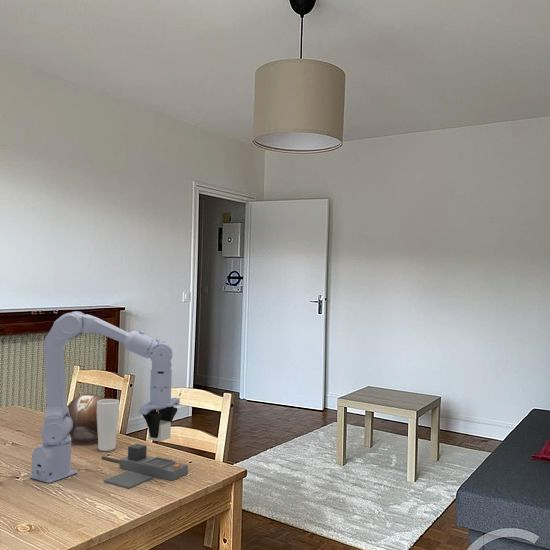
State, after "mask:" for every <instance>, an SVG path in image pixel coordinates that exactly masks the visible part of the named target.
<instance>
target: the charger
mask: <svg viewBox="0 0 550 550" xmlns="http://www.w3.org/2000/svg"><path fill="white" fill-rule="evenodd" d="M171 427H172V423H171V422H169V421H163V420H160V424H159V433H158V438H152V437H150V433H149V430H148V431H147V432H148V434H147V435H148V437H147V438H148V440H151V441H156V442H160V443H161V442H164V441H167V440H169V439H171V435H172V434H171V433H172V432H171V431H172V430H171V429H172V428H171Z"/></svg>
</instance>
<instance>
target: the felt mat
mask: <svg viewBox="0 0 550 550" xmlns="http://www.w3.org/2000/svg"><path fill="white" fill-rule="evenodd" d="M153 479H154V476H150V475H146V474H142V473H138V472H134V471H130V470H126V471H124V472H121V473H119V474H116V475H114V476H111V477H108V478H105V479H103V483H106V484H110V485H114V486H118V487H121V488H125V489H129V490H130V489H132V488H134V487H136V486H139V485H141V484H143V483H145V482H148V481H150V480H153Z"/></svg>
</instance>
